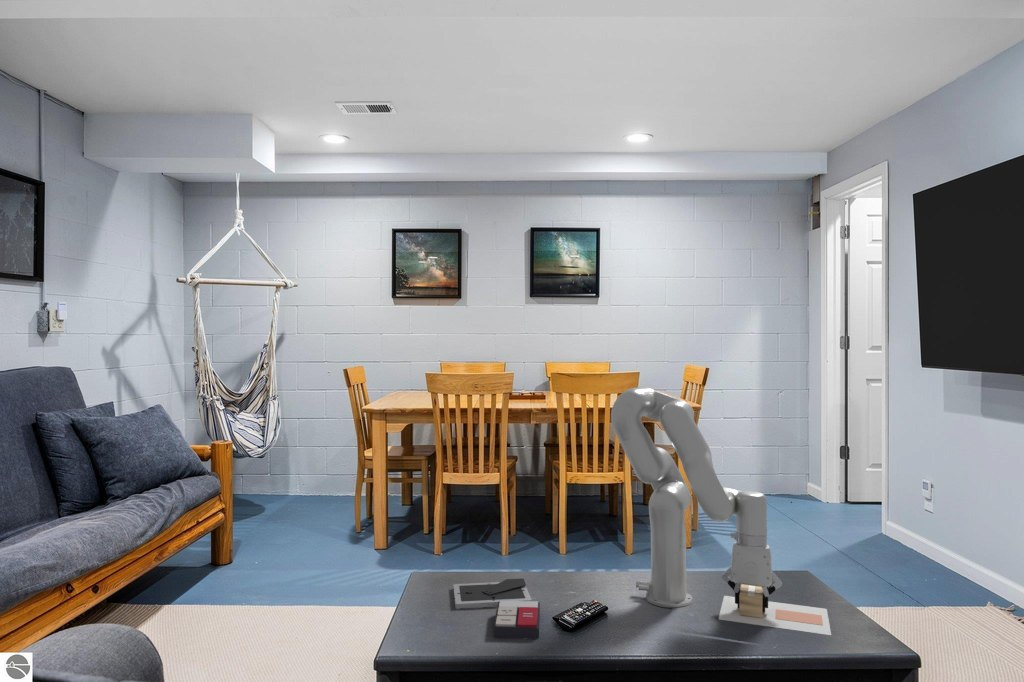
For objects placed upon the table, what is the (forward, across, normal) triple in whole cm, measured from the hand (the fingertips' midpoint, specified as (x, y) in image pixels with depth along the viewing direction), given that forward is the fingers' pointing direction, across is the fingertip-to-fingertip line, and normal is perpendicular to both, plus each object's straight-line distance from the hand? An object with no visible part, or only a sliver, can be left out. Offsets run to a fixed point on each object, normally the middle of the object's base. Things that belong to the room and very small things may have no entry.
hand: (751, 607), depth 172 cm
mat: (+1, +5, 0) cm, 6 cm away
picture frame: (+3, -68, -15) cm, 70 cm away
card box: (+1, 0, 0) cm, 1 cm away
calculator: (+3, -54, -31) cm, 62 cm away
